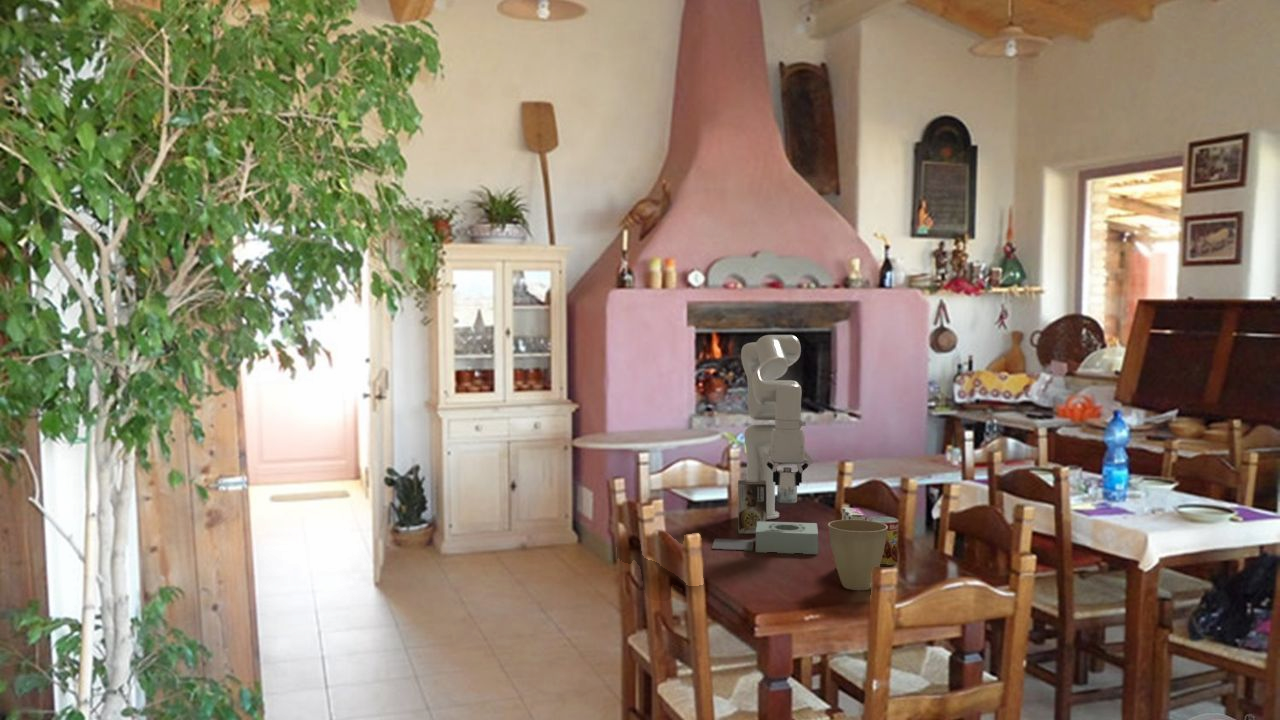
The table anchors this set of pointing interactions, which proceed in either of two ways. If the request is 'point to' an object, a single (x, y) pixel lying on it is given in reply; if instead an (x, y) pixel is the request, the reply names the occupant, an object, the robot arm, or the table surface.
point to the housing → (787, 537)
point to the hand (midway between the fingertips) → (787, 484)
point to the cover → (787, 485)
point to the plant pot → (857, 550)
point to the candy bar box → (853, 514)
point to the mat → (733, 544)
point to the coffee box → (751, 504)
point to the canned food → (889, 539)
